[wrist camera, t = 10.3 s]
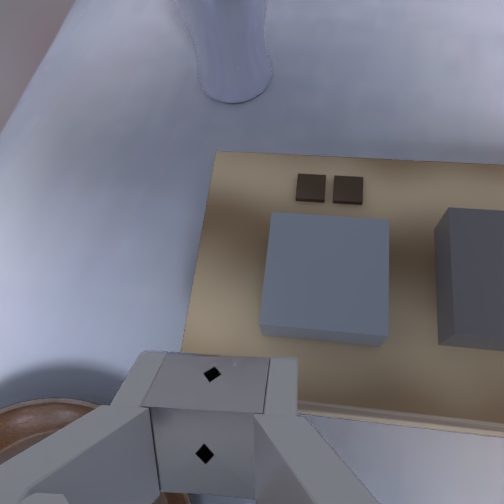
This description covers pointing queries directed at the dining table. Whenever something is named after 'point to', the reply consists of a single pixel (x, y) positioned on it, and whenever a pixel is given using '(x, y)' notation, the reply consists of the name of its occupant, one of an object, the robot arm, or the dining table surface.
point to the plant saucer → (50, 429)
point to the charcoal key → (470, 278)
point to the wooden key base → (400, 286)
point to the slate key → (327, 279)
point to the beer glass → (229, 46)
